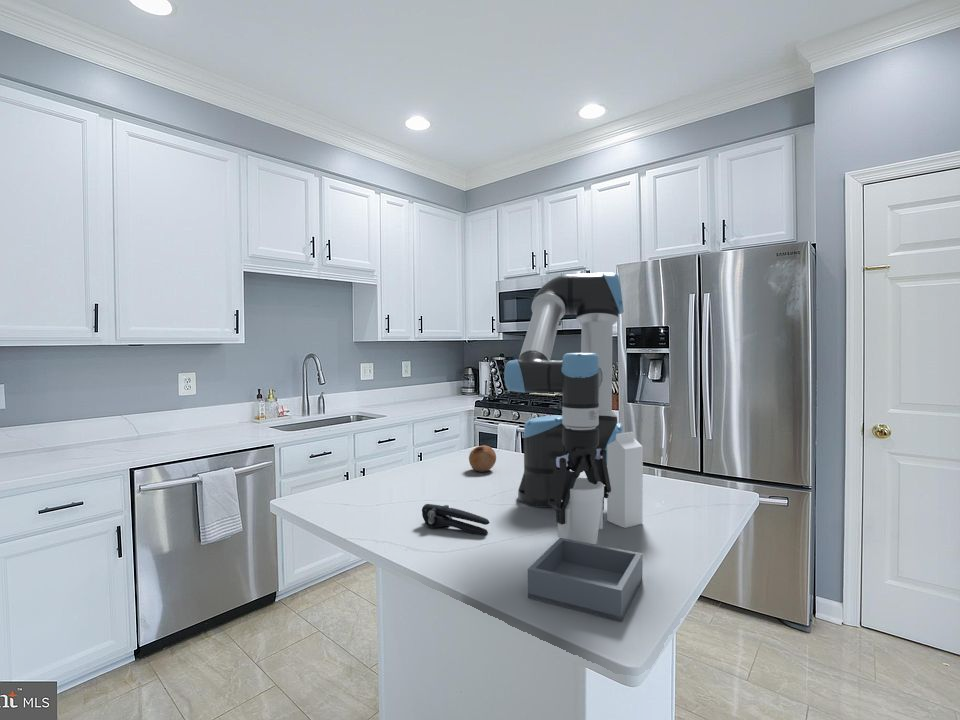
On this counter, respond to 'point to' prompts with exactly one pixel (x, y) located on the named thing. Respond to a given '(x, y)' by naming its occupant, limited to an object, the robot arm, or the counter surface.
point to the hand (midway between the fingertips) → (580, 532)
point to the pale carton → (625, 481)
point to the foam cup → (585, 510)
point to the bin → (586, 578)
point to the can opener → (443, 517)
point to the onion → (482, 458)
